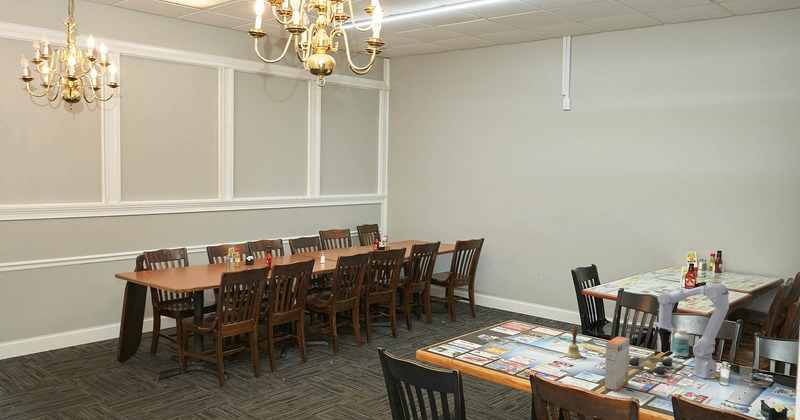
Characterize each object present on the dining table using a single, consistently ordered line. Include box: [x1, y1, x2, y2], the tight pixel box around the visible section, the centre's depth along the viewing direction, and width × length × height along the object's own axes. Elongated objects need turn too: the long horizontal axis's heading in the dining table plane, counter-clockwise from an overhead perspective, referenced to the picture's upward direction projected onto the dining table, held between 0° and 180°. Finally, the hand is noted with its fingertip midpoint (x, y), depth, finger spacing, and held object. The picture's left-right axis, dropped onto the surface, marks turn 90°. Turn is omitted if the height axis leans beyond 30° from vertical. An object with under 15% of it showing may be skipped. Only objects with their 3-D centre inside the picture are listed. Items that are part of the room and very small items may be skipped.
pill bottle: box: [672, 328, 690, 358], centre depth 335 cm, size 8×7×14 cm
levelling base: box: [629, 362, 674, 378], centre depth 309 cm, size 20×21×2 cm
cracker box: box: [604, 336, 630, 392], centre depth 285 cm, size 14×6×21 cm, turn 141°
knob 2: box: [648, 355, 673, 366], centre depth 314 cm, size 11×5×4 cm, turn 79°
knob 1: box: [629, 355, 640, 366], centre depth 315 cm, size 11×5×4 cm, turn 65°
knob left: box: [641, 361, 666, 374], centre depth 303 cm, size 11×5×4 cm, turn 40°
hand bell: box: [564, 325, 583, 359], centre depth 329 cm, size 8×8×16 cm
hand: (663, 343), depth 318 cm, fingers closed
